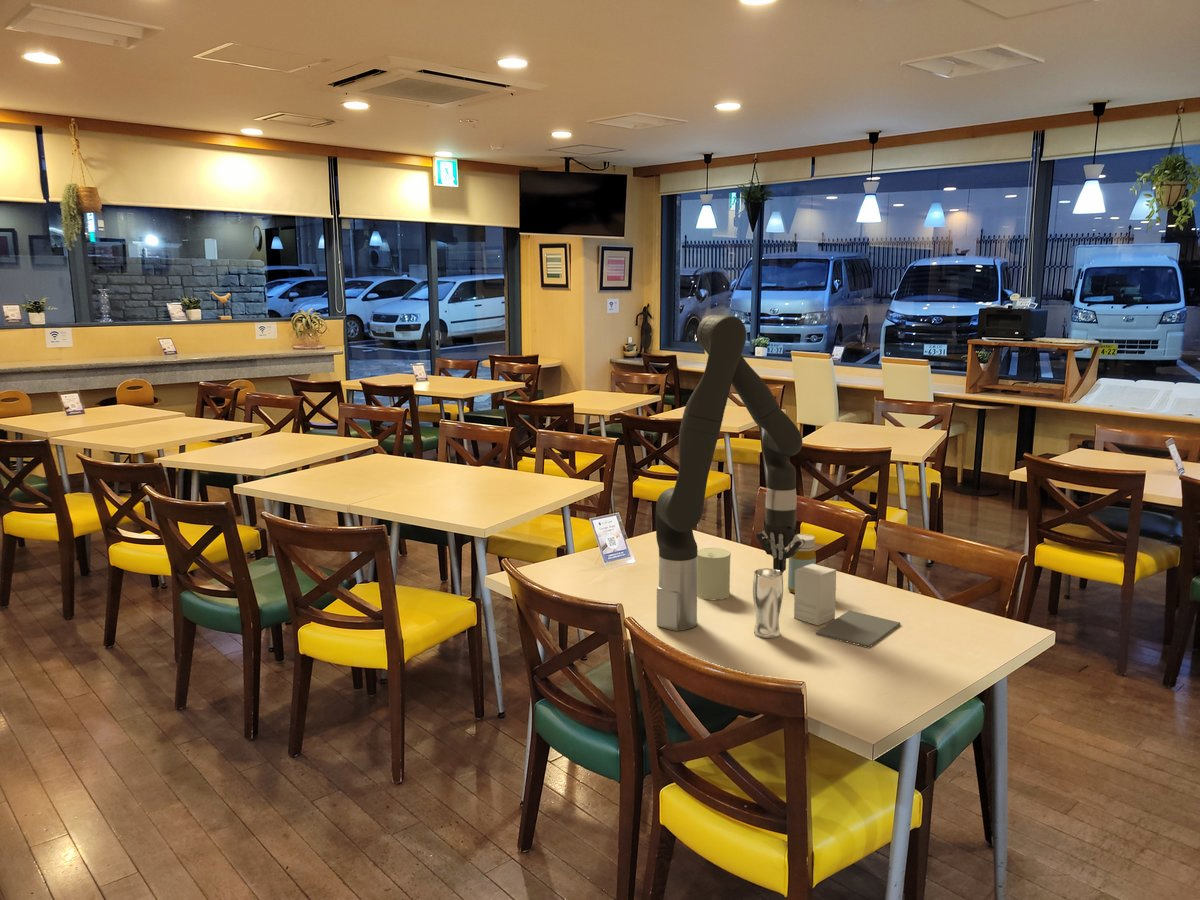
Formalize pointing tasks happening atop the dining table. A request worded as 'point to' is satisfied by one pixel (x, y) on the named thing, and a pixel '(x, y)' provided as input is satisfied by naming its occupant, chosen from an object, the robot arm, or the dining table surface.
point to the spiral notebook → (858, 628)
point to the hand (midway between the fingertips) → (779, 572)
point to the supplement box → (815, 594)
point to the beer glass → (767, 601)
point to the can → (713, 573)
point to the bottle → (801, 558)
